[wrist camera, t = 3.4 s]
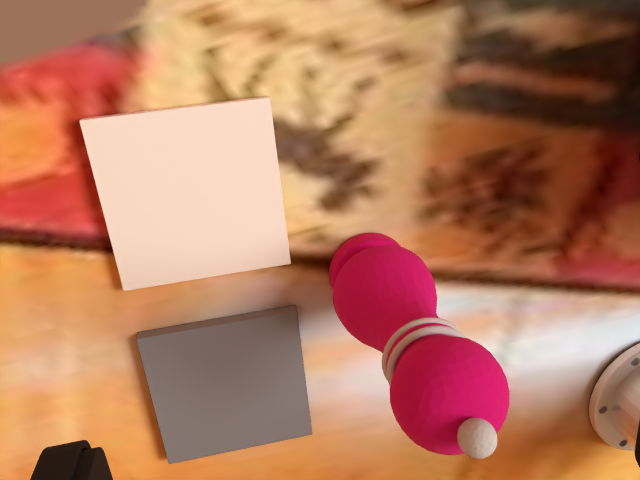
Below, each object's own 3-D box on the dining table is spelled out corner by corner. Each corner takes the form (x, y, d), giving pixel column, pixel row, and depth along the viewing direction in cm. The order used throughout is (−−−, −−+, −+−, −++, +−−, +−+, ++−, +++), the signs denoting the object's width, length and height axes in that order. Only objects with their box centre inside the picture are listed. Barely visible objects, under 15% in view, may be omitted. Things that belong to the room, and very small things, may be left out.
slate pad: (294, 304, 42) (296, 311, 41) (310, 426, 47) (312, 434, 46) (137, 332, 40) (136, 339, 40) (169, 455, 45) (168, 464, 44)
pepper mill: (335, 322, 43) (424, 534, 25) (311, 243, 41) (392, 417, 22) (419, 293, 44) (567, 481, 26) (401, 213, 41) (554, 360, 23)
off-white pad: (268, 95, 36) (269, 97, 35) (289, 258, 41) (290, 263, 40) (82, 118, 35) (79, 120, 34) (125, 284, 39) (123, 291, 38)
